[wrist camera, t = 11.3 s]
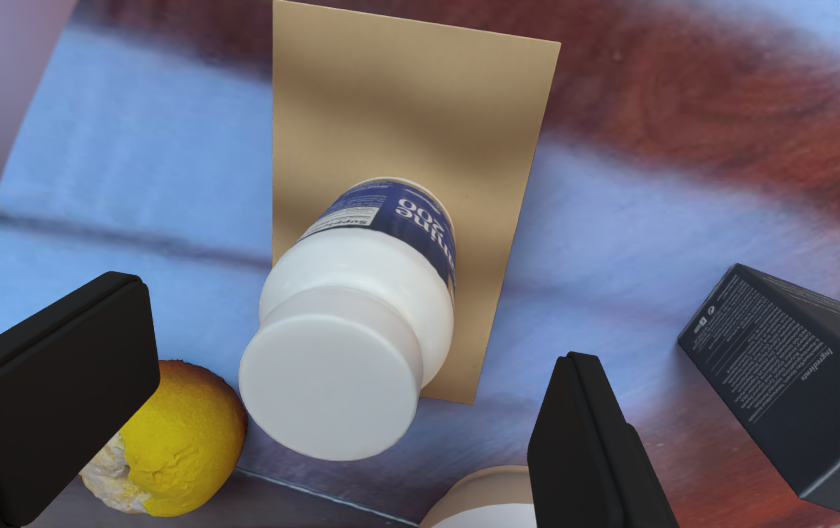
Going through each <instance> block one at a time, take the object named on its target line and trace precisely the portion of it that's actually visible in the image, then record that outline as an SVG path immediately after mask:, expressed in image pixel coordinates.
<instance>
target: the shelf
mask: <svg viewBox="0 0 840 528" xmlns="http://www.w3.org/2000/svg"><path fill="white" fill-rule="evenodd" d="M560 47H561V43H560V42H554V41H547V40H541V39H534V38H528V37H521V36H514V35H508V34H501V33H495V32H488V31H482V30H475V29H469V28H462V27H455V26H449V25H442V24H436V23H429V22H423V21H416V20H410V19H403V18H397V17H390V16H383V15H377V14H370V13H364V12H357V11H351V10H344V9H338V8H331V7H324V6H318V5H311V4H305V3H298V2H292V1H285V0H273V236H272V269H273V267H274V266H275V265H276V263H277V262H278V260H279V259H280V258H281V256H282V255H284V254H285V253H286V252H287V251H288V250H289V249H290V248H291V247H292V246H293V244H294V243H295V242H296V241H297V240H298V239H299V238H300V237H301V236H302V235H303V234H304V233H305V232H306V231H307V230H308V228H310V227H311V226H312V224H313V223H314V222H315V221H316V220H317V219H318V218H319V217H320V216H321V215H322V214H323V213H324V212H325V211H326V210H327V209H328V208H329V207H330V206H331V204H333V202H334V201H335V200H336V199H337V198H339V197H340V196H341V195H342V194H343V193H344V192H346V191H347V190H348V189H349V188H351V187H352V186H354V185H356V184H358V183H360V182H362V181H365V180H368V179H371V178H376V177H398V178H404V179H407V180H410V181H413V182H415V183H417V184H419V185H421V186H423V187H424V188H426V189H428V190H429V191H430V192H431V193H432V194H433V195H434V196H435V197H436V198H437V199H438V200H439V201H440V202H441V203H442V204H443V206H444V207H445V209H446V210H447V212H448V214H449V216H450V218H451V221H452V224H453V227H454V232H455V241H456V263H455V304H454V327H453V335H452V341H451V346H450V349H449V352H448V355H447V357H446V359H445V361H444V363H443V365H442V367H441V368H440V370H439V371H438V373H437V374H436V375H435V376H434V378H433V379H432V380H431V381H430V382H429V383H428V384H427V385H426V386H424V387H423V388H422V389H421V390H420V396H422V397H428V398H434V399H440V400H446V401H451V402H457V403H463V404H469V405H473V402H474V398H475V394H476V390H477V386H478V382H479V378H480V374H481V369H482V365H483V361H484V357H485V353H486V349H487V345H488V341H489V337H490V333H491V329H492V325H493V320H494V316H495V312H496V308H497V304H498V300H499V296H500V292H501V288H502V284H503V280H504V275H505V271H506V267H507V263H508V259H509V255H510V251H511V247H512V243H513V239H514V235H515V231H516V226H517V222H518V218H519V214H520V210H521V206H522V202H523V198H524V194H525V190H526V186H527V182H528V177H529V173H530V169H531V165H532V161H533V157H534V153H535V149H536V145H537V141H538V137H539V132H540V128H541V124H542V120H543V116H544V112H545V108H546V104H547V100H548V96H549V92H550V88H551V83H552V79H553V75H554V71H555V67H556V63H557V59H558V55H559V51H560Z"/></svg>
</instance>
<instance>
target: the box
mask: <svg viewBox="0 0 840 528" xmlns="http://www.w3.org/2000/svg"><path fill="white" fill-rule="evenodd" d="M678 344H679V345H680V346H681V347H682V349H683V350H684V351H685V352H686V354H687V355H688V356H689V358H690V359H691V360H692V361H693V363H694V364H695V365H696V367H697V368H698V369H699V371H700V372H701V373H702V374H703V376H704V377H705V378H706V380H707V381H708V382H709V383H710V384H711V386H712V387H713V389H714V390H715V391H716V392H717V394H718V395H719V396H720V397H721V399H722V400H723V401H724V403H725V404H726V405H727V407H728V408H729V409H730V411H731V412H732V413H733V414H734V416H735V417H736V418H737V420H738V421H739V422H740V423H741V425H742V426H743V427H744V429H745V430H746V431H747V432H748V434H749V435H750V436H751V438H752V439H753V440H754V442H755V443H756V444H757V445H758V447H759V448H760V449H761V450H762V452H763V453H764V454H765V455H766V457H767V458H768V459H769V460H770V461H771V463H772V464H773V465H774V467H775V468H776V469H777V471H778V472H779V473H780V475H781V476H782V477H783V478H784V480H785V481H786V482H787V483H788V484H789V486H790V487H791V488H792V490H793V491H794V492H795V494H796V495H797V496H798V498H800V499H802V500H805V501H808V502H811V503H814V504H817V505H820V506H823V507H826V508H829V509H832V510H835V511H837V512H840V302H839V301H837V300H834V299H831V298H829V297H826V296H824V295H821V294H818V293H816V292H813V291H810V290H808V289H805V288H803V287H800V286H797V285H795V284H792V283H790V282H787V281H784V280H782V279H779V278H776V277H774V276H771V275H768V274H766V273H763V272H760V271H758V270H755V269H753V268H750V267H747V266H745V265H742V264H739V263H735V264H734V265H733V266H732V267H731V269H730V270H729V271H728V273H727V274H726V275H725V277H724V278H723V279H722V280H721V281H720V282H719V284H718V286H717V287H716V288H715V289H714V291H713V292H712V293H711V294H710V296H709V297H708V299H707V300H706V301H705V303H704V304H703V305H702V306H701V308H700V309H699V311H698V312H697V313H696V315H695V316H694V317H693V319H692V320H691V321H690V323H689V324H688V325H687V327H686V328H685V329H684V331H683V332H682V333H681V334H680V335H679V337H678Z"/></svg>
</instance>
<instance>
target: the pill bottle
mask: <svg viewBox="0 0 840 528" xmlns="http://www.w3.org/2000/svg"><path fill="white" fill-rule="evenodd" d="M455 263H456V241H455V232H454V227H453V224H452V221H451V218H450V216H449V214H448V212H447V210H446V209H445V207H444V206H443V204H442V203H441V202H440V201H439V200H438V199H437V198H436V197H435V196H434V195H433V194H432V193H431V192H430V191H429V190H428V189H426V188H424V187H423V186H421V185H419V184H417V183H415V182H413V181H410V180H407V179H404V178H398V177H376V178H371V179H368V180H365V181H362V182H360V183H358V184H356V185H354V186H352V187H351V188H349V189H348V190H347V191H346V192H344V193H343V194H342V195H341V196H340V197H339V198H337V199H336V200H335V201H334V202H333V204H331V206H330V207H329V208H328V209H327V210H326V211H325V212H324V213H323V214H322V215H321V216H320V217H319V218H318V219H317V220H316V221H315V222H314V223H313V224H312V226H311V227H310V228H308V230H307V231H306V232H305V233H304V234H303V235H302V236H301V237H300V238H299V239H298V240H297V241H296V242H295V243H294V244H293V246H292V247H291V248H290V249H289V250H288V251H287V252H286V253H285V254H284V255H282V256H281V258H280V259H279V260H278V262H277V263H276V265H275V266H274V267H273V269H272V270H271V272H270V274H269V275H268V277H267V279H266V281H265V284H264V286H263V289H262V293H261V296H260V302H259V325H260V327H259V329H258V331H257V332H256V334H255V335H254V337H253V338H252V340H251V341H250V343H249V344H248V346H247V347H246V349H245V351H244V354H243V356H242V358H241V362H240V366H239V373H238V380H239V388H240V393H241V397H242V400H243V402H244V404H245V407H246V409H247V411H248V412H249V413H250V415H251V416H252V418H253V419H254V421H255V422H256V423H257V424H258V425H259V426H260V427H261V428H262V429H263V430H264V431H265V432H266V433H267V434H268V435H269V436H270V437H271V438H273V439H274V440H276V441H277V442H279V443H280V444H282V445H284V446H285V447H287V448H289V449H291V450H293V451H295V452H298V453H300V454H303V455H306V456H309V457H313V458H317V459H323V460H329V461H330V460H332V461H351V460H360V459H364V458H368V457H371V456H374V455H377V454H380V453H382V452H383V451H385V450H387V449H388V448H390V447H391V446H393V445H394V444H396V443H397V442H398V441H399V440H400V439H401V438H402V437H403V436H404V435H405V434H406V432H407V430H408V429H409V427H410V426H411V424H412V421H413V419H414V417H415V415H416V411H417V406H418V401H419V396H420V390H421V389H422V388H423V387H424V386H426V385H427V384H428V383H429V382H430V381H431V380H432V379H433V378H434V376H435V375H436V374H437V373H438V371H439V370H440V368H441V367H442V365H443V363H444V361H445V359H446V357H447V355H448V352H449V349H450V346H451V341H452V335H453V327H454V304H455Z"/></svg>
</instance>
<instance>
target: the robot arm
mask: <svg viewBox="0 0 840 528" xmlns="http://www.w3.org/2000/svg"><path fill="white" fill-rule="evenodd" d="M160 379H161V375H160V368H159V361H158V354H157V347H156V340H155V333H154V326H153V318H152V311H151V304H150V297H149V290H148V287H147V285H146V284H144V283H143V282H142V280H141V278H140V277H138V276H137V275H132V274H126V273H120V272H115V271H109V272H106V273H104V274H102V275H101V276H99V277H97V278H95V279H94V280H92V281H90V282H89V283H87V284H85V285H83V286H82V287H80V288H78V289H77V290H75V291H73V292H72V293H70V294H68V295H66V296H65V297H63V298H61V299H60V300H58V301H56V302H54V303H53V304H51V305H49V306H48V307H46V308H44V309H42V310H41V311H39V312H37V313H36V314H34V315H32V316H31V317H29V318H27V319H25V320H24V321H22V322H20V323H19V324H17V325H15V326H13V327H12V328H10V329H8V330H7V331H5V332H3V333H2V334H0V528H20V527H21V526H25V525H28V524H29V523H31V522H32V521H34V520H35V519H36V518H37V517H38V516H39V515H40V514H41V513H42V512H43V510H44V509H45V508H46V507H47V506H48V505H49V504H50V503H51V502H52V501H53V500H54V499H55V498H56V497H57V496H58V495H59V494H60V492H61V491H62V490H63V489H64V488H65V487H66V486H67V485H68V484H69V483H70V482H71V481H72V480H73V479H74V478H75V477H76V476H77V474H78V473H79V472H80V471H81V470H82V469H83V468H84V467H85V466H86V465H87V464H88V463H89V462H90V461H91V460H92V459H93V458H94V456H95V455H96V454H97V453H98V452H99V451H100V450H101V449H102V448H103V447H104V446H105V445H106V444H107V443H108V442H109V441H110V440H111V439H112V437H113V436H114V435H115V434H116V433H117V432H118V431H119V430H120V429H121V428H122V427H123V426H124V425H125V424H126V423H127V422H128V421H129V419H130V418H131V417H132V416H133V415H134V414H135V413H136V412H137V411H138V410H139V409H140V408H141V407H142V406H143V405H144V404H145V403H146V401H147V400H148V399H149V398H150V397H151V396H152V395H153V394H154V393H155V392H156V390H157V388H158V387H159V384H160ZM527 461H528V469H529V476H530V483H531V490H532V497H533V504H534V511H535V518H536V525H537V528H680V527H679V525H678V523H677V521H676V518H675V516H674V514H673V512H672V509H671V507H670V505H669V503H668V500H667V498H666V496H665V494H664V491H663V489H662V487H661V485H660V483H659V480H658V478H657V476H656V474H655V471H654V469H653V467H652V465H651V462H650V460H649V458H648V456H647V453H646V451H645V449H644V447H643V445H642V442H641V440H640V438H639V436H638V433H637V432H636V430H635V428H634V427H633V426H632V425H630V424H629V423H626V421H625V418H624V416H623V414H622V411H621V409H620V407H619V404H618V402H617V400H616V397H615V395H614V393H613V391H612V388H611V386H610V384H609V381H608V379H607V377H606V374H605V372H604V370H603V367H602V365H601V363H600V360H599V358H598V357H597V356H595V355H589V354H583V353H578V352H572V351H570V352H569V353H568V354H567V355H566V357H562V356H560V357H559V358H558V359H557V361H556V364H555V367H554V370H553V373H552V376H551V379H550V382H549V385H548V388H547V391H546V394H545V397H544V400H543V403H542V406H541V409H540V412H539V415H538V418H537V421H536V424H535V427H534V430H533V433H532V436H531V439H530V442H529V445H528V452H527Z"/></svg>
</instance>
